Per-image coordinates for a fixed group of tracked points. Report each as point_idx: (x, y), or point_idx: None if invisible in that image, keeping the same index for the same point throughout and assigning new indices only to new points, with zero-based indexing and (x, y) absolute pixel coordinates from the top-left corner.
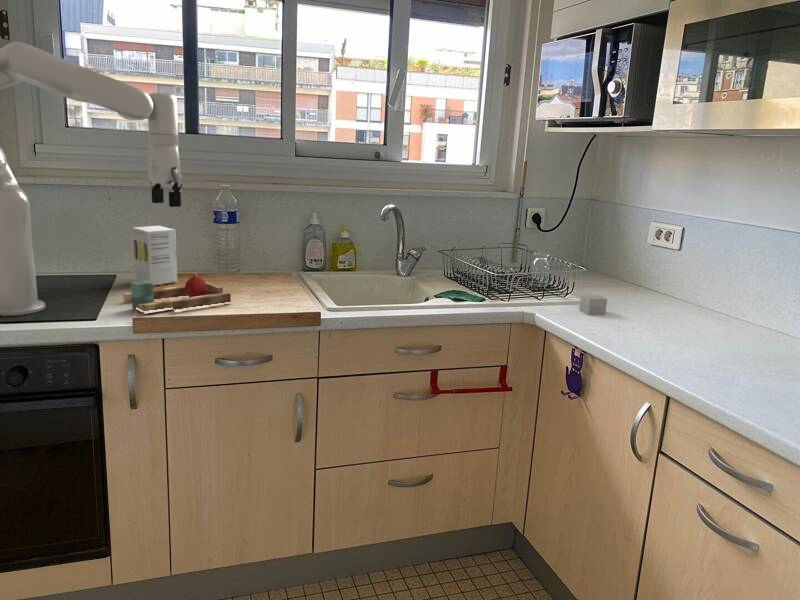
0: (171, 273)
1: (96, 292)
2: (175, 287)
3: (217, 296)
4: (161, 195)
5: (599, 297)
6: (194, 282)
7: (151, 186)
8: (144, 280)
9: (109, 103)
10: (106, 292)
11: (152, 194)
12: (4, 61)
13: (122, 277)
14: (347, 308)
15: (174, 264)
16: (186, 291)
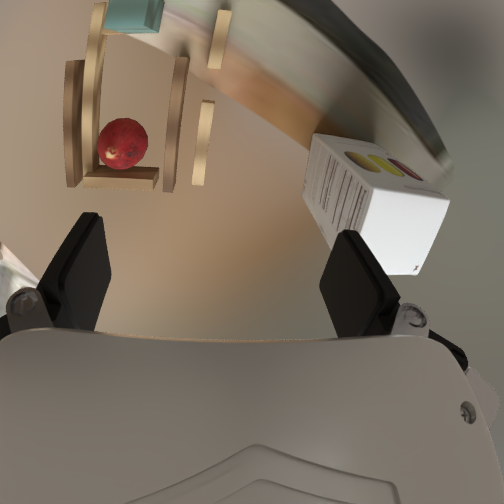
0: (310, 193)
1: (354, 32)
2: (201, 130)
3: (65, 157)
4: (336, 309)
5: None
6: (101, 137)
7: (419, 317)
8: (144, 21)
9: None
10: (340, 43)
11: (368, 264)
12: None
13: (416, 153)
14: (8, 287)
15: (314, 211)
16: (123, 118)
